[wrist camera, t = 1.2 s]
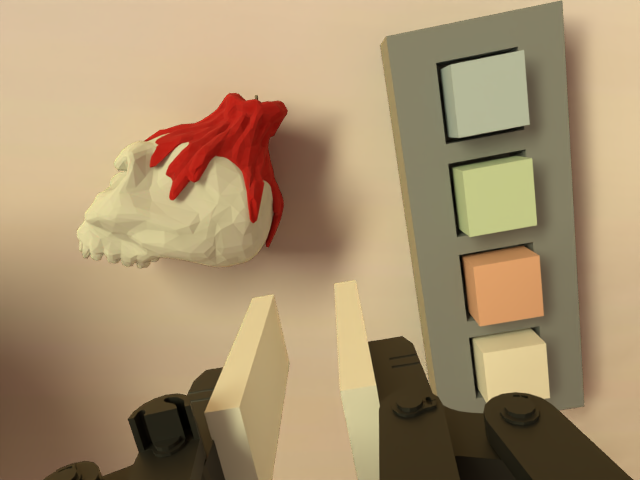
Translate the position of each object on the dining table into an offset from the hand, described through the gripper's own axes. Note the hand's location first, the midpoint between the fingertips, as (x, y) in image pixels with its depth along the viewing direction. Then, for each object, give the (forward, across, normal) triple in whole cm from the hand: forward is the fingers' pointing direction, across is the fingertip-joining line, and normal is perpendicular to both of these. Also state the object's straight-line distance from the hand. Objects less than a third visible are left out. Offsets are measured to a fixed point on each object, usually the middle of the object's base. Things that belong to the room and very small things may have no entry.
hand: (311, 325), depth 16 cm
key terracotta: (+17, +12, -6) cm, 22 cm away
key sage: (+17, +12, 0) cm, 21 cm away
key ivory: (+17, +12, -13) cm, 25 cm away
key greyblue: (+17, +12, +6) cm, 22 cm away
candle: (+20, -7, +4) cm, 21 cm away
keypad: (+19, +12, -3) cm, 23 cm away
